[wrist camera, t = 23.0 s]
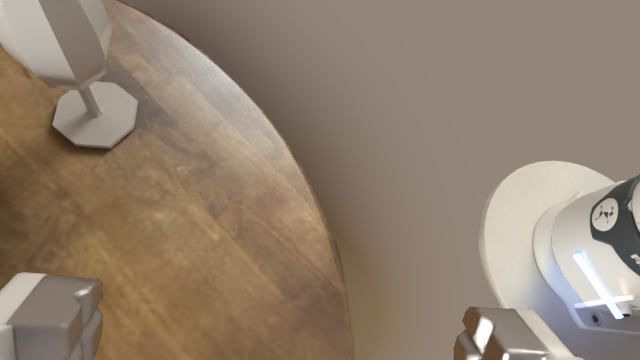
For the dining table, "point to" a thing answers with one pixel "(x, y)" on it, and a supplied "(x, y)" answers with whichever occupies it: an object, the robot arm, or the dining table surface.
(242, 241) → the dining table surface
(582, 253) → the robot arm
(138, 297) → the dining table surface
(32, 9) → the wineglass
